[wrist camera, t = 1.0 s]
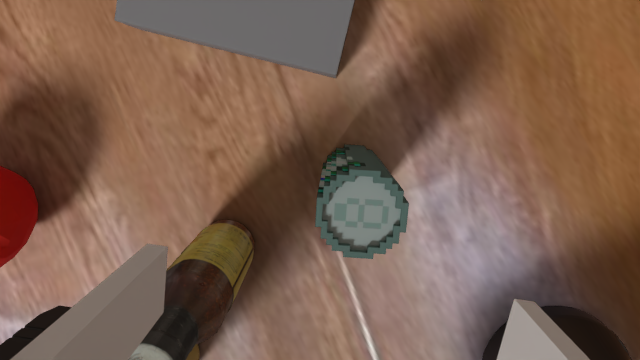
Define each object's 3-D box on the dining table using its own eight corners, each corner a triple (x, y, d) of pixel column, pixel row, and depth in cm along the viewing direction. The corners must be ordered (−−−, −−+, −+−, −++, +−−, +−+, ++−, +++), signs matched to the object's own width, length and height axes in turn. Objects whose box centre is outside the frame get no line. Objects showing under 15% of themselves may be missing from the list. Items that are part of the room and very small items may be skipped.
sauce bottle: (197, 218, 43) (80, 318, 23) (254, 215, 42) (185, 313, 23) (204, 275, 44) (100, 414, 24) (260, 272, 44) (199, 411, 24)
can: (324, 143, 40) (318, 167, 26) (383, 146, 40) (411, 173, 26) (321, 200, 42) (313, 254, 27) (378, 204, 41) (402, 260, 27)
